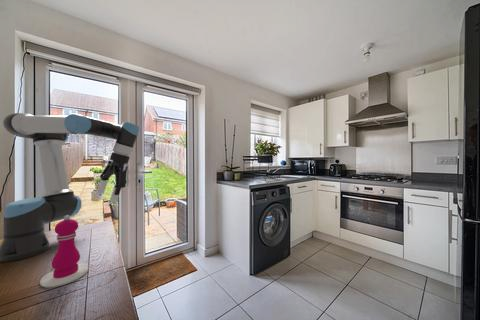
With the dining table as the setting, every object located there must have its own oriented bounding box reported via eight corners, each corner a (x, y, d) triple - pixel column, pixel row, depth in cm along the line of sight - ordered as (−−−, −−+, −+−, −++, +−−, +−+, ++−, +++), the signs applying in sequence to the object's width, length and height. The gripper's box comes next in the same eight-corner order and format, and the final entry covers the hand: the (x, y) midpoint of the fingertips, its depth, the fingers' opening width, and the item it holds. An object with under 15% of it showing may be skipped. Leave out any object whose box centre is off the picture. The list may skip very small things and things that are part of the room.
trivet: (33, 281, 60) (33, 278, 60) (78, 263, 71) (78, 260, 71) (49, 292, 55) (49, 288, 55) (95, 271, 66) (95, 268, 66)
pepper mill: (54, 282, 58) (56, 219, 59) (48, 275, 62) (49, 216, 62) (83, 270, 64) (84, 214, 65) (75, 264, 68) (76, 211, 69)
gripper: (143, 160, 83) (127, 205, 81) (117, 152, 96) (103, 191, 94) (126, 156, 77) (109, 205, 75) (101, 148, 90) (86, 189, 88)
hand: (106, 197), depth 84 cm, fingers open, 13 cm apart
